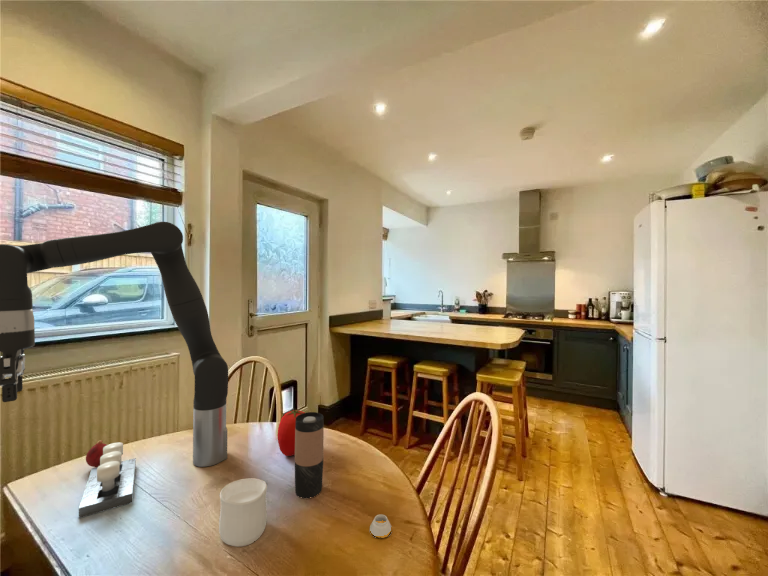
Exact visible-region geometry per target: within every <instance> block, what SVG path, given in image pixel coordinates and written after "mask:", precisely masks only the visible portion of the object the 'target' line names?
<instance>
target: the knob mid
mask: <svg viewBox="0 0 768 576" xmlns="http://www.w3.org/2000/svg"><path fill="white" fill-rule="evenodd" d="M111 461H118V462H120V465H121V461H122V456H121V452H120V451H114V452H110V453H107V454H104V455H103V456H101V457H100V465H102V464H104V463H107V462H111Z"/></svg>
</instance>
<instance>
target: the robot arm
mask: <svg viewBox="0 0 768 576" xmlns="http://www.w3.org/2000/svg"><path fill="white" fill-rule="evenodd" d="M183 241H184V235H183V232H182V230H181V228H179V227H178V226H177V225H175V224H174V223H171V222H169V221H156V222H153V223H151V224H146V225H144V226H140V227H136V228H132V229H126V230H122V231H116V232H108V233H101V234H100V233H99V234H91V235H90V234H89V235H82V236H81V235H80V236H72V237H63V238H57V239H56V238H55V239H50V240H46V241H44V242H42V243H33V244H25V245H12V244H6V243H5V244H4V243H2V244H0V352H1V353H2V355H1V356H0V387H1V398H2V399H1V401H2V402H3V403H9V402H14V401H16V400H17V399H18V392H19V393H20V392H22V391H23V389H24V387H23V384H24V383H23V376H24V375H25V370H26V354H25V349H26V350H27V349H30V348H33V347H34V346H35V345H36V343H35V342H36V340H35V339H36V336H35V335H36V334H35V333H36V332H35V316H34V311H33V310H34V309H33V308H34V307H33V291H32V289H31V287H30V286H29V284H28V274H30V273H35V272H36V273H37V272H41V271H45V270H49V269H52V268H64V267H70V266H71V267H72V266H77V265H82V264H88V263H89V264H90V263H93V262H99V261H102V260H108V259H111V258H116V257H120V256H125V255H131V254H140V253H151V255H152V257H153V260H154V261H155V263H156V266H157V268H158V270H159V272H160V276H161V280H162V285H163V290H164V295H165V297H166V301H167V304H168V307H169V310H170V313H171V315H172V318H173V320H174V323H175V325H176V326H177V329H178V331H179V332H180V334H181V336H182V337H183V339H184V341H185V343H186V346H187V349H188V352H189V356H190V360H191V365H192V372H193V375H194V393H193V395H194V398H193V400H192V401H193V409H192V411H193V416H192V417H193V419H192V422H193V423H192V424H193V425H192V426H193V427H192V464H193V465H194V466H195V467H198V468H199V467H200V468H202V467H203V468H204V467H210V466H214V465H217V464H219V463H221V462H222V461H224V460H227V459H228V428H227V398H228V393H229V367H228V363H227V361H225V359H224V358H223V357H222V355H221V353H220V351H219V350H218V348H217V345H216V343H215V341H214V339H213V336H212V331H211V324H210V317H209V312H208V310H207V306H206V303H205V300H204V297H203V295H202V292H201V290H200V288H199V286H198V284H197V281H196V279H195V278H194V276H193V275H192V273H191V271H190V270H189V267H188V264H187V262H186V259H185V255H184V254H185V253H184V251H183Z"/></svg>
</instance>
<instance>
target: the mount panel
mask: <svg viewBox="0 0 768 576" xmlns="http://www.w3.org/2000/svg"><path fill="white" fill-rule="evenodd" d="M136 459H137V458H134V457H133V458H130V459H126V460H121V465H120V474H119V476H117V477H116V478H115V480H114V488H113V489H111V490H109V491H102V482H98V481H97V468H98V467H92V468H91V470H90V473H89V476H88V479H87V483H86V485H85V488H84V491H83V495H82V496H81V497H82V498H81V501H80V503H79V507H78V519H81V518H85V517H87V516H91V515H94V514H95V515H96V514H98V513H102V512H105V511H108V510H112V509H115V508H118V507H121V506H126V505H129V504H133V498H134V497H133V496H134V488H135V477H136V468H137V467H136V464H137V462H136V461H137V460H136Z"/></svg>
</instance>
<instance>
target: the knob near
mask: <svg viewBox="0 0 768 576" xmlns="http://www.w3.org/2000/svg"><path fill="white" fill-rule="evenodd" d="M119 474H120V462H118V461H111V462H107V463H104V464H102V465H100V466H99V467H98V468H97V481H98V482H102V491H109V490H111V489H113V488H114V480H115V478H116V477H117V476H119Z"/></svg>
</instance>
